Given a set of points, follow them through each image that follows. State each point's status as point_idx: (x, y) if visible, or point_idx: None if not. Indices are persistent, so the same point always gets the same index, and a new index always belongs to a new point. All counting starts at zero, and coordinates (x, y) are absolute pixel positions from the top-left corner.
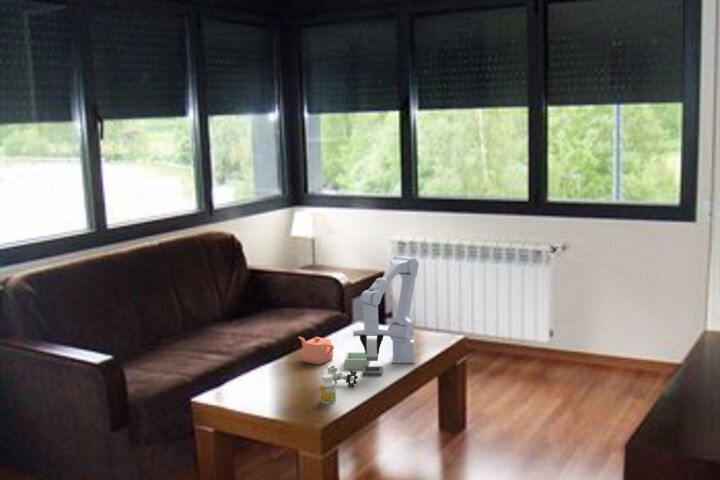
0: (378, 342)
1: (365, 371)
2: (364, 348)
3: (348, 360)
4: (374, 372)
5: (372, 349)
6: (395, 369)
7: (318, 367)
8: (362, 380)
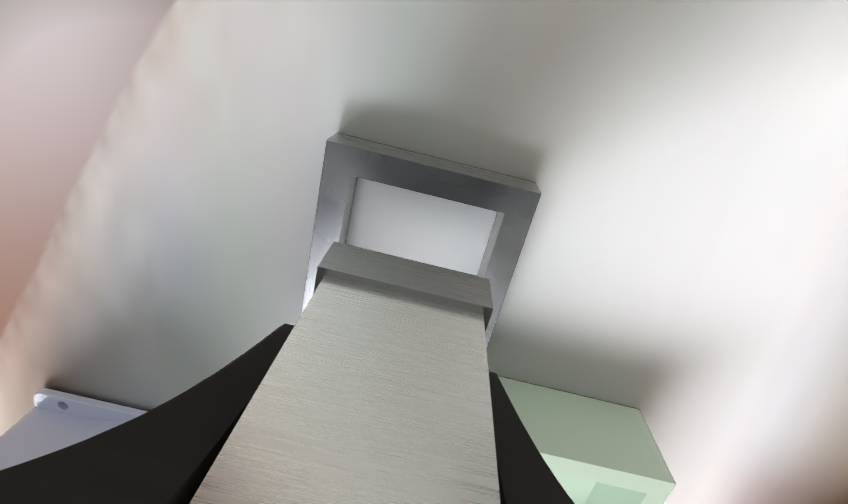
0: (140, 467)
1: (491, 246)
2: (531, 441)
3: (631, 466)
4: (406, 164)
5: (370, 369)
6: (194, 289)
7: (843, 492)
8: (571, 41)
